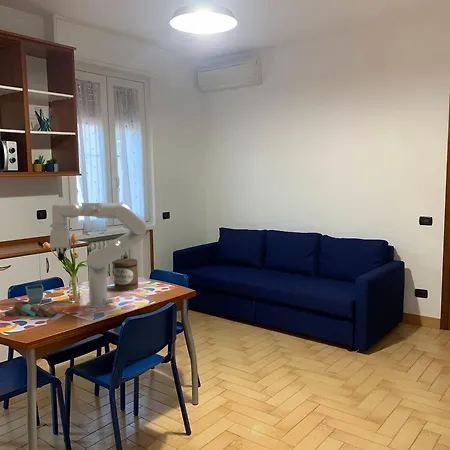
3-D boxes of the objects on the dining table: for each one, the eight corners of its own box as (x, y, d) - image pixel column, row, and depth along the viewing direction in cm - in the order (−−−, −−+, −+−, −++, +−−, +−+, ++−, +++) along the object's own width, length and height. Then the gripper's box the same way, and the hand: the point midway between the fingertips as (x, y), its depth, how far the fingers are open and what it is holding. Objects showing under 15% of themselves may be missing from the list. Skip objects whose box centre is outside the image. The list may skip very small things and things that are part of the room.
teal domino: (41, 310, 242) (28, 303, 243) (35, 313, 238) (22, 306, 238) (39, 314, 243) (26, 306, 244) (34, 316, 238) (21, 309, 239)
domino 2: (33, 310, 243) (20, 302, 244) (27, 313, 238) (14, 305, 239) (31, 313, 244) (19, 306, 244) (26, 316, 239) (13, 308, 239)
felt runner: (65, 314, 243) (65, 314, 243) (56, 320, 234) (56, 319, 234) (24, 312, 246) (24, 311, 246) (14, 317, 238) (14, 317, 238)
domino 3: (49, 311, 242) (36, 304, 243) (44, 314, 237) (31, 306, 238) (48, 314, 242) (35, 307, 243) (43, 317, 237) (29, 310, 238)
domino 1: (24, 309, 244) (10, 309, 245) (18, 312, 239) (4, 311, 240) (24, 313, 244) (11, 312, 246) (19, 315, 239) (5, 315, 241)
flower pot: (27, 305, 260) (26, 289, 259) (26, 301, 267) (25, 286, 266) (44, 303, 264) (43, 287, 263) (42, 299, 271) (41, 284, 270)
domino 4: (57, 311, 241) (44, 304, 242) (52, 314, 236) (39, 306, 237) (56, 315, 241) (43, 307, 242) (51, 317, 236) (37, 310, 237)
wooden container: (110, 290, 293) (109, 256, 290) (120, 284, 307) (120, 252, 304) (132, 291, 289) (131, 257, 287) (141, 286, 304) (141, 253, 301)
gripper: (43, 227, 249) (44, 261, 251) (70, 227, 248) (71, 261, 250) (50, 225, 256) (51, 258, 258) (76, 226, 255) (77, 259, 257)
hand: (61, 260), depth 254 cm, fingers closed
